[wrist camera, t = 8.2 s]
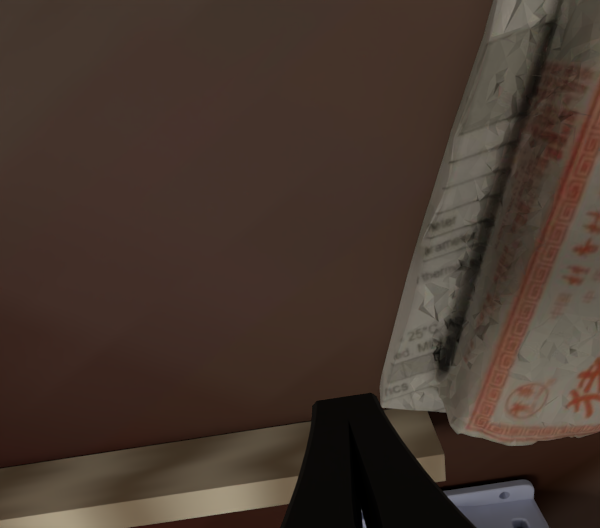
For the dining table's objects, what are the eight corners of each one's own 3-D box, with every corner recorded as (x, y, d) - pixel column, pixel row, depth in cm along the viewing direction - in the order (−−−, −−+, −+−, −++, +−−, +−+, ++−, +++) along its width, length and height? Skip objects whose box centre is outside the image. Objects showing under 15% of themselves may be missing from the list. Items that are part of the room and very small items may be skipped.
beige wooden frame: (381, -246, 14) (407, -314, 11) (426, 428, 24) (445, 480, 21) (-515, -77, 14) (-699, -101, 12) (-99, 507, 25) (-145, 567, 22)
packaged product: (589, -114, 11) (958, -27, 13) (501, -76, 16) (781, -14, 17) (394, 470, 19) (638, 490, 20) (371, 386, 23) (572, 407, 24)
